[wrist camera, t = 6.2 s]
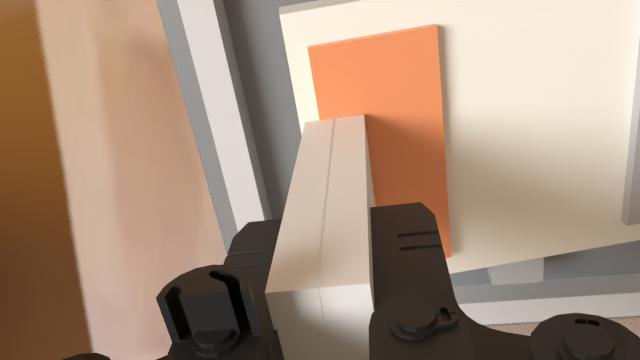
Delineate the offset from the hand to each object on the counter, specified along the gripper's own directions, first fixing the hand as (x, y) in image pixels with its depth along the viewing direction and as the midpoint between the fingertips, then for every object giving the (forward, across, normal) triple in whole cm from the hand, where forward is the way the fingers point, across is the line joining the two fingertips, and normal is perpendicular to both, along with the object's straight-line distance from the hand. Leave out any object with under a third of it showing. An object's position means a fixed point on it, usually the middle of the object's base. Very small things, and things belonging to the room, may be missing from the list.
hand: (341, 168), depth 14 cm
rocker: (+2, -5, 0) cm, 5 cm away
